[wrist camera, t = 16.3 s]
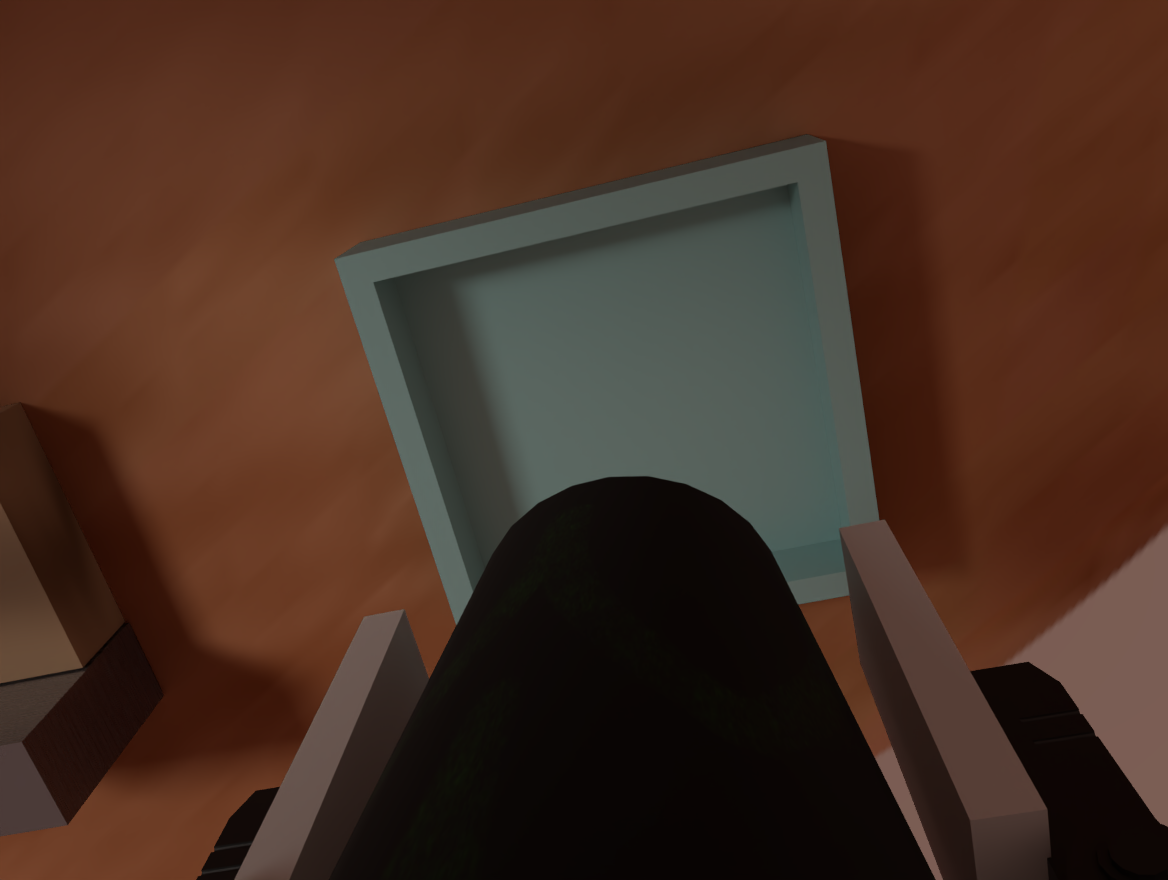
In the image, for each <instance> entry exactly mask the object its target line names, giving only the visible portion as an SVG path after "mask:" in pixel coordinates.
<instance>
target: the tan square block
mask: <svg viewBox="0 0 1168 880" xmlns="http://www.w3.org/2000/svg"><path fill="white" fill-rule="evenodd" d="M124 622H125V620H124V618H123V616H122V614H121V612H120V610H119V608H118V606H117V604H116V601H115V599H114V597H113V595H112V593H111V591H110V589H109V587H108V585H107V583H106V581H105V578H104V576H103V574H102V572H101V570H100V568H99V566H98V564H97V562H96V560H95V558H94V555H93V553H92V551H91V549H90V547H89V545H88V543H87V541H86V539H85V537H84V534H83V532H82V530H81V528H80V526H79V524H78V522H77V520H76V518H75V516H74V514H73V511H72V509H71V507H70V505H69V503H68V501H67V499H66V497H65V495H64V493H63V491H62V488H61V486H60V484H59V482H58V480H57V478H56V476H55V474H54V472H53V470H52V468H51V465H50V463H49V461H48V459H47V457H46V455H45V453H44V451H43V449H42V447H41V445H40V442H39V440H38V438H37V436H36V434H35V432H34V430H33V428H32V426H31V424H30V421H29V419H28V417H27V415H26V413H25V411H24V409H23V407H22V405H21V403H20V402H19V403H15V404H11V405H6V406H2V407H0V683H5V682H10V681H15V680H21V679H26V678H31V677H36V676H42V675H47V674H52V673H58V672H63V671H68V670H73V669H79V668H83V667H84V666H85V665H86V664H87V663H88V662H89V661H90V659H91V658H92V657H93V656H94V655H95V654H96V653H97V652H98V651H99V650H100V649H101V647H102V646H103V645H104V644H105V643H106V642H107V641H108V640H109V639H110V638H111V637H112V635H113V634H114V633H115V632H116V631H117V630H118V629H119V628H120V627H121V626H122V625H123V624H124Z"/></svg>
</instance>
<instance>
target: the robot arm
mask: <svg viewBox="0 0 1168 880" xmlns="http://www.w3.org/2000/svg"><path fill="white" fill-rule="evenodd" d="M839 532H840V539H841V545H842V551H843V557H844V564H845V570H846V576H847V583H848V589H849V595H850V601H851V608H852V614H853V620H854V627H855V633H856V639H857V645H858V652H859V658H860V664H861V666H862V669H863V672H864V674H865V677H866V679H867V682H868V685H869V687H870V690H871V693H872V695H873V698H874V700H875V703H876V706H877V708H878V711H879V713H880V716H881V719H882V721H883V724H884V726H885V729H886V732H887V734H888V737H889V740H890V742H891V745H892V747H893V750H894V752H895V755H896V758H897V760H898V763H899V766H900V768H901V771H902V773H903V776H904V778H905V781H906V784H907V787H908V789H909V791H910V794H911V797H912V800H913V802H914V805H915V807H916V810H917V812H918V815H919V818H920V820H921V823H922V826H923V828H924V831H925V833H926V836H927V839H928V841H929V844H930V847H931V849H932V852H933V854H934V857H935V860H936V862H937V865H938V867H939V870H940V873H941V875H942V878H943V880H1168V827H1167V826H1165V825H1162V824H1160V823H1159V822H1158V821H1157V820H1156V819H1155V817H1154V816H1153V815H1152V813H1151V812H1150V811H1149V809H1148V807H1147V806H1146V804H1145V803H1144V802H1143V800H1142V799H1141V797H1140V796H1139V794H1138V793H1137V792H1136V790H1135V789H1134V787H1133V786H1132V784H1131V783H1130V782H1129V780H1128V779H1127V777H1126V776H1125V775H1124V773H1123V772H1122V770H1121V769H1120V767H1119V766H1118V764H1117V763H1116V762H1115V760H1114V759H1113V757H1112V756H1111V754H1110V753H1109V752H1108V750H1107V749H1106V747H1105V746H1104V745H1103V743H1102V742H1101V740H1100V739H1099V737H1096V736H1095V733H1094V730H1093V729H1092V727H1091V726H1090V725H1089V723H1088V722H1087V720H1086V719H1085V717H1084V716H1083V714H1080V712H1079V709H1078V707H1077V706H1076V704H1075V703H1074V701H1073V700H1072V699H1071V697H1070V696H1069V694H1068V693H1067V691H1066V690H1065V689H1064V687H1063V686H1062V684H1061V683H1060V682H1059V681H1057V680H1055V679H1054V678H1052V677H1051V676H1050V675H1048V674H1046V673H1045V672H1043V671H1042V670H1040V669H1039V668H1037V667H1035V666H1034V665H1032V664H1031V663H1029V662H1024V663H1018V664H1012V665H1006V666H1000V667H994V668H987V669H981V670H975V671H970V670H969V669H968V667H967V665H966V663H965V662H964V660H963V658H962V656H961V654H960V653H959V651H958V649H957V647H956V645H955V644H954V642H953V640H952V638H951V637H950V635H949V633H948V631H947V629H946V628H945V626H944V624H943V622H942V621H941V619H940V617H939V615H938V613H937V612H936V610H935V608H934V606H933V604H932V603H931V601H930V599H929V597H928V596H927V594H926V592H925V590H924V588H923V587H922V585H921V583H920V581H919V580H918V578H917V576H916V574H915V572H914V571H913V569H912V567H911V565H910V563H909V562H908V560H907V558H906V556H905V555H904V553H903V551H902V549H901V547H900V546H899V544H898V542H897V540H896V539H895V537H894V535H893V533H892V531H891V530H890V528H889V526H888V524H887V522H886V521H885V520H880V521H874V522H869V523H864V524H858V525H853V526H848V527H842V528H839ZM428 681H429V678H428V675H427V672H426V669H425V666H424V663H423V661H422V658H421V655H420V652H419V649H418V646H417V644H416V641H415V638H414V635H413V632H412V629H411V627H410V624H409V621H408V618H407V615H406V612H405V610H404V609H403V610H398V611H392V612H387V613H382V614H376V615H371V616H366V617H364V618H363V620H362V622H361V624H360V626H359V628H358V630H357V632H356V634H355V636H354V638H353V640H352V642H351V644H350V646H349V648H348V650H347V652H346V655H345V657H344V659H343V661H342V663H341V665H340V667H339V669H338V671H337V673H336V675H335V677H334V679H333V681H332V683H331V685H330V687H329V689H328V691H327V693H326V695H325V697H324V699H323V701H322V703H321V705H320V707H319V709H318V711H317V713H316V715H315V717H314V719H313V721H312V723H311V725H310V727H309V729H308V731H307V734H306V736H305V738H304V740H303V742H302V744H301V746H300V748H299V750H298V752H297V754H296V756H295V758H294V760H293V762H292V764H291V766H290V768H289V770H288V772H287V774H286V776H285V778H284V780H283V782H282V784H281V786H280V787H276V788H270V789H264V790H258V791H255V792H254V793H253V794H252V795H251V796H250V797H249V798H248V800H247V801H246V802H245V803H244V804H243V805H242V806H241V807H240V808H239V809H238V810H237V811H236V812H235V813H234V814H233V815H232V816H231V817H230V818H229V820H228V822H227V824H226V826H225V828H224V829H223V831H222V833H221V835H220V837H219V839H218V841H217V842H216V844H215V846H214V848H215V851H214V852H211V854H210V855H209V857H208V859H207V861H206V863H205V865H204V866H203V868H202V870H201V871H202V875H201V876H198V878H197V879H196V880H329V878H330V876H331V874H332V872H333V870H334V868H335V866H336V864H337V862H338V860H339V858H340V856H341V854H342V852H343V850H344V848H345V846H346V844H347V842H348V840H349V838H350V836H351V834H352V832H353V830H354V828H355V826H356V824H357V822H358V820H359V818H360V816H361V814H362V812H363V810H364V808H365V806H366V804H367V802H368V800H369V798H370V796H371V794H372V792H373V790H374V788H375V786H376V784H377V782H378V780H379V778H380V776H381V774H382V772H383V770H384V768H385V766H386V764H387V762H388V760H389V758H390V756H391V754H392V752H393V750H394V749H395V747H396V745H397V743H398V741H399V739H400V737H401V735H402V733H403V731H404V729H405V727H406V725H407V723H408V721H409V719H410V717H411V715H412V713H413V711H414V709H415V707H416V705H417V703H418V701H419V699H420V697H421V695H422V693H423V691H424V689H425V687H426V685H427V683H428Z"/></svg>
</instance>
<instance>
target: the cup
mask: <svg viewBox="0 0 1168 880" xmlns="http://www.w3.org/2000/svg"><path fill="white" fill-rule="evenodd" d="M329 880H935V878H934V876H933V874H932V872H931V870H930V868H929V866H928V864H927V862H926V860H925V858H924V856H923V854H922V852H921V850H920V848H919V846H918V844H917V842H916V840H915V838H914V836H913V834H912V832H911V830H910V828H909V826H908V824H907V822H906V820H905V818H904V816H903V814H902V812H901V810H900V808H899V806H898V804H897V802H896V800H895V798H894V796H893V794H892V792H891V790H890V788H889V786H888V784H887V782H886V780H885V778H884V776H883V774H882V772H881V770H880V768H879V766H878V764H877V762H876V760H875V758H874V756H873V754H872V752H871V750H870V748H869V746H868V744H867V742H866V740H865V738H864V735H863V733H862V731H861V729H860V727H859V725H858V723H857V721H856V719H855V717H854V715H853V713H852V711H851V709H850V707H849V705H848V703H847V701H846V699H845V697H844V695H843V693H842V691H841V689H840V687H839V685H838V683H837V681H836V679H835V677H834V675H833V673H832V671H831V669H830V667H829V665H828V663H827V661H826V659H825V657H824V655H823V653H822V651H821V649H820V647H819V645H818V643H817V641H816V639H815V637H814V635H813V633H812V631H811V629H810V627H809V625H808V623H807V621H806V619H805V617H804V615H803V613H802V611H801V609H800V607H799V605H798V603H797V601H796V599H795V597H794V595H793V593H792V591H791V589H790V587H789V585H788V583H787V581H786V579H785V577H784V575H783V573H782V571H781V569H780V567H779V565H778V563H777V561H776V559H775V557H774V555H773V553H772V551H771V550H770V549H769V547H768V546H767V545H766V543H765V542H764V541H763V539H762V538H761V537H760V535H759V534H758V533H757V531H756V530H755V529H754V527H753V526H752V525H751V523H750V522H748V521H747V520H746V519H745V518H743V517H742V516H741V515H740V514H738V513H737V512H736V511H734V510H733V509H732V508H731V507H729V506H728V505H727V504H726V503H724V502H723V501H722V500H720V499H718V498H716V497H714V496H711V495H709V494H707V493H705V492H703V491H701V490H698V489H696V488H694V487H692V486H690V485H688V484H684V483H679V482H675V481H670V480H665V479H660V478H655V477H650V476H622V477H606V478H602V479H598V480H593V481H589V482H585V483H581V484H577V485H573V486H570V487H568V488H566V489H564V490H562V491H560V492H559V493H557V494H555V495H553V496H551V497H549V498H547V499H545V500H543V501H541V502H539V503H537V504H536V505H535V506H534V507H533V508H532V509H531V510H529V511H528V512H527V513H526V514H525V515H524V516H522V517H521V518H520V519H519V520H518V521H517V522H516V523H514V524H513V525H512V526H511V527H510V529H509V530H508V532H507V533H506V535H505V536H504V538H503V539H502V541H501V542H500V544H499V545H498V547H497V548H496V549H495V551H494V552H493V554H492V556H491V558H490V560H489V562H488V564H487V566H486V568H485V570H484V572H483V574H482V576H481V578H480V580H479V582H478V584H477V586H476V587H475V589H474V591H473V593H472V595H471V597H470V599H469V601H468V603H467V605H466V607H465V609H464V611H463V613H462V615H461V617H460V619H459V621H458V623H457V625H456V627H455V629H454V631H453V633H452V635H451V637H450V639H449V641H448V643H447V645H446V647H445V649H444V651H443V653H442V655H441V657H440V659H439V661H438V663H437V665H436V667H435V669H434V671H433V673H432V675H431V677H430V679H429V681H428V683H427V685H426V687H425V689H424V691H423V693H422V695H421V697H420V699H419V701H418V703H417V705H416V707H415V709H414V711H413V713H412V715H411V717H410V719H409V721H408V723H407V725H406V727H405V729H404V731H403V733H402V735H401V737H400V739H399V741H398V743H397V745H396V747H395V749H394V750H393V752H392V754H391V756H390V758H389V760H388V762H387V764H386V766H385V768H384V770H383V772H382V774H381V776H380V778H379V780H378V782H377V784H376V786H375V788H374V790H373V792H372V794H371V796H370V798H369V800H368V802H367V804H366V806H365V808H364V810H363V812H362V814H361V816H360V818H359V820H358V822H357V824H356V826H355V828H354V830H353V832H352V834H351V836H350V838H349V840H348V842H347V844H346V846H345V848H344V850H343V852H342V854H341V856H340V858H339V860H338V862H337V864H336V866H335V868H334V870H333V872H332V874H331V876H330V878H329Z"/></svg>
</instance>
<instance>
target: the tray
mask: <svg viewBox="0 0 1168 880" xmlns="http://www.w3.org/2000/svg"><path fill="white" fill-rule="evenodd" d="M334 260H335V263H336V266H337V269H338V272H339V275H340V278H341V281H342V284H343V287H344V290H345V293H346V296H347V299H348V302H349V305H350V308H351V311H352V314H353V317H354V320H355V323H356V326H357V329H358V332H359V335H360V338H361V341H362V344H363V347H364V350H365V353H366V356H367V359H368V362H369V365H370V368H371V371H372V374H373V377H374V380H375V383H376V386H377V389H378V392H379V395H380V398H381V401H382V404H383V407H384V410H385V413H386V416H387V419H388V422H389V425H390V428H391V431H392V434H393V437H394V440H395V443H396V446H397V449H398V452H399V455H400V458H401V461H402V464H403V467H404V470H405V473H406V476H407V479H408V482H409V485H410V488H411V491H412V494H413V497H414V500H415V503H416V506H417V509H418V512H419V515H420V517H421V520H422V523H423V526H424V529H425V532H426V535H427V538H428V541H429V544H430V547H431V550H432V553H433V556H434V559H435V562H436V565H437V568H438V571H439V574H440V577H441V580H442V583H443V586H444V589H445V592H446V595H447V598H448V601H449V604H450V607H451V610H452V613H453V616H454V619H455V622H456V625H457V623H458V621H459V619H460V617H461V615H462V613H463V611H464V609H465V607H466V605H467V603H468V601H469V599H470V597H471V595H472V593H473V591H474V589H475V587H476V586H477V584H478V582H479V580H480V578H481V576H482V574H483V572H484V570H485V568H486V566H487V564H488V562H489V560H490V558H491V556H492V554H493V552H494V551H495V549H496V548H497V547H498V545H499V544H500V542H501V541H502V539H503V538H504V536H505V535H506V533H507V532H508V530H509V529H510V527H511V526H512V525H513V524H514V523H516V522H517V521H518V520H519V519H520V518H521V517H522V516H524V515H525V514H526V513H527V512H528V511H529V510H531V509H532V508H533V507H534V506H535V505H536V504H537V503H539V502H541V501H543V500H545V499H547V498H549V497H551V496H553V495H555V494H557V493H559V492H560V491H562V490H564V489H566V488H568V487H570V486H573V485H577V484H581V483H585V482H589V481H593V480H598V479H602V478H606V477H622V476H650V477H655V478H660V479H665V480H670V481H675V482H679V483H684V484H688V485H690V486H692V487H694V488H696V489H698V490H701V491H703V492H705V493H707V494H709V495H711V496H714V497H716V498H718V499H720V500H722V501H723V502H724V503H726V504H727V505H728V506H729V507H731V508H732V509H733V510H734V511H736V512H737V513H738V514H740V515H741V516H742V517H743V518H745V519H746V520H747V521H748V522H750V523H751V525H752V526H753V527H754V529H755V530H756V531H757V533H758V534H759V535H760V537H761V538H762V539H763V541H764V542H765V543H766V545H767V546H768V547H769V549H770V550H771V551H772V553H773V555H774V557H775V559H776V561H777V563H778V565H779V567H780V569H781V571H782V573H783V575H784V577H785V579H786V581H787V583H788V585H789V587H790V589H791V591H792V593H793V595H794V597H795V599H796V601H797V603H798V604H803V603H809V602H815V601H820V600H826V599H831V598H837V597H842V596H848V595H849V589H848V583H847V576H846V570H845V564H844V557H843V551H842V545H841V539H840V532H839V528H842V527H848V526H853V525H858V524H864V523H869V522H874V521H879V514H878V507H877V500H876V493H875V486H874V478H873V471H872V464H871V457H870V450H869V443H868V436H867V429H866V422H865V415H864V408H863V400H862V393H861V386H860V379H859V372H858V365H857V358H856V351H855V344H854V337H853V329H852V322H851V315H850V308H849V301H848V294H847V287H846V280H845V273H844V266H843V259H842V251H841V244H840V237H839V230H838V223H837V216H836V209H835V202H834V195H833V188H832V180H831V173H830V166H829V159H828V152H827V145H826V141H825V140H822V139H819V138H817V137H814V136H811V135H808V134H806V135H802V136H798V137H794V138H790V139H786V140H781V141H777V142H773V143H769V144H765V145H761V146H757V147H752V148H748V149H744V150H740V151H736V152H732V153H728V154H724V155H719V156H715V157H711V158H707V159H703V160H699V161H695V162H691V163H686V164H682V165H678V166H674V167H670V168H666V169H662V170H658V171H653V172H649V173H645V174H641V175H637V176H633V177H629V178H624V179H620V180H616V181H612V182H608V183H604V184H600V185H596V186H591V187H587V188H583V189H579V190H575V191H571V192H567V193H563V194H558V195H554V196H550V197H546V198H542V199H538V200H534V201H530V202H525V203H521V204H517V205H513V206H509V207H505V208H501V209H496V210H492V211H488V212H484V213H480V214H476V215H472V216H468V217H463V218H459V219H455V220H451V221H447V222H443V223H439V224H435V225H430V226H426V227H422V228H418V229H414V230H410V231H406V232H401V233H397V234H393V235H389V236H385V237H381V238H377V239H373V240H368V241H364V242H360V243H359V244H357V245H355V246H354V247H352V248H351V249H349V250H348V251H346V252H345V253H343V254H341V255H340V256H338V257H337V258H335V259H334Z"/></svg>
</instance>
